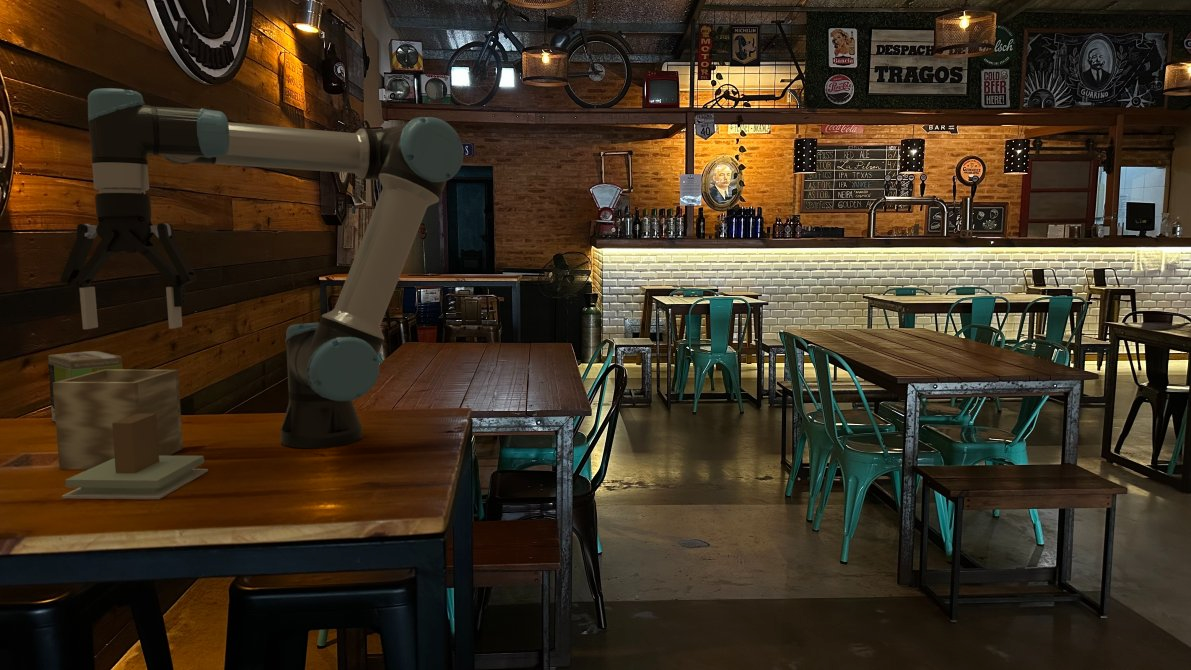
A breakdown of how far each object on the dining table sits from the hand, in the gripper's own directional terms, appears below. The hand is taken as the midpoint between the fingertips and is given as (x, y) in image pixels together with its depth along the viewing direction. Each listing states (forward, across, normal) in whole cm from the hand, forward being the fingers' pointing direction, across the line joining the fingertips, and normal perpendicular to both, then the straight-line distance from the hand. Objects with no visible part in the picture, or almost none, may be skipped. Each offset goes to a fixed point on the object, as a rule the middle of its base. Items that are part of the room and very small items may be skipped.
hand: (133, 328), depth 131 cm
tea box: (+25, +35, -42) cm, 61 cm away
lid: (+25, 0, +2) cm, 25 cm away
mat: (+25, 0, +2) cm, 25 cm away
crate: (+25, +11, -14) cm, 31 cm away
